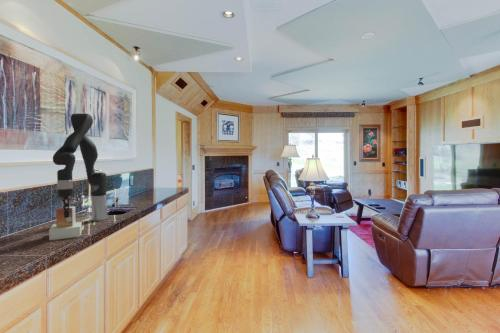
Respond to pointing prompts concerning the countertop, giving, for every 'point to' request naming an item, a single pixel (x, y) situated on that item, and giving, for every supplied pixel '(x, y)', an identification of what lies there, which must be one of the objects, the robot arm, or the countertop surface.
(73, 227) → the block
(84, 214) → the countertop surface
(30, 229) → the countertop surface
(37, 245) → the countertop surface
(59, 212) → the small box
